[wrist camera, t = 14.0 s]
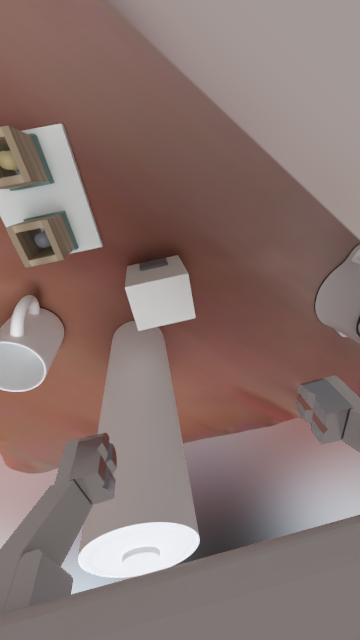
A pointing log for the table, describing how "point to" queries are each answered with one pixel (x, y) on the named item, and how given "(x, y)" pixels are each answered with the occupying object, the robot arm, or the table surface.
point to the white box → (159, 292)
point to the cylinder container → (141, 466)
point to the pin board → (52, 191)
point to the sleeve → (23, 160)
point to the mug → (28, 345)
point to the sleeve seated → (55, 231)
